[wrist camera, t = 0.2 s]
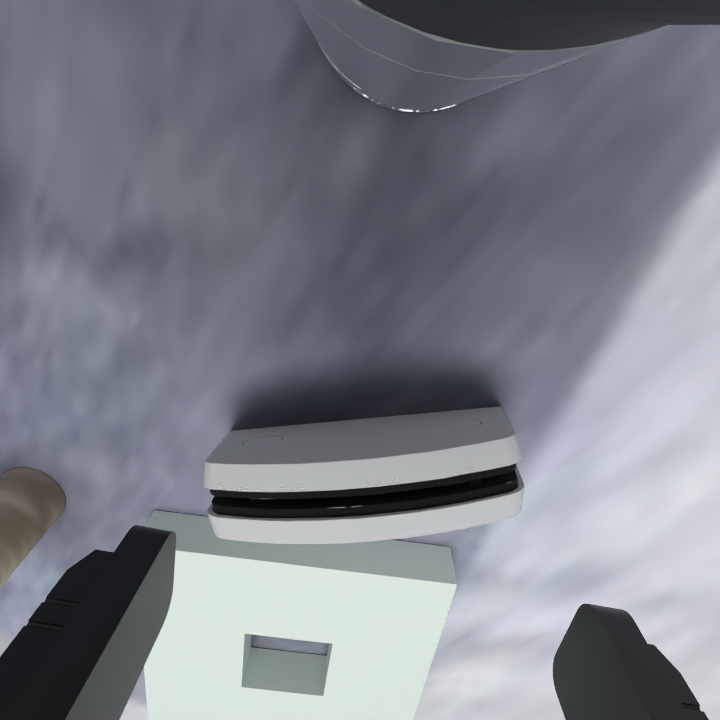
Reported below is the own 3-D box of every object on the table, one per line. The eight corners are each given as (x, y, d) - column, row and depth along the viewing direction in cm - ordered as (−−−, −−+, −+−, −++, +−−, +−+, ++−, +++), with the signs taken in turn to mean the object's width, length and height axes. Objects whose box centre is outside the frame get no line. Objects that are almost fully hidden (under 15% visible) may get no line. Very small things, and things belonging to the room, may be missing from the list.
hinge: (244, 496, 31) (176, 581, 21) (235, 424, 31) (161, 478, 21) (505, 475, 30) (563, 555, 20) (499, 400, 29) (555, 444, 19)
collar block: (154, 510, 32) (133, 545, 29) (450, 546, 32) (457, 584, 30) (164, 690, 40) (149, 730, 37) (398, 716, 41) (400, 757, 38)
